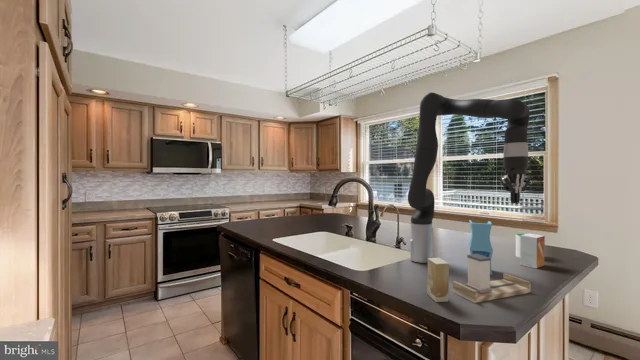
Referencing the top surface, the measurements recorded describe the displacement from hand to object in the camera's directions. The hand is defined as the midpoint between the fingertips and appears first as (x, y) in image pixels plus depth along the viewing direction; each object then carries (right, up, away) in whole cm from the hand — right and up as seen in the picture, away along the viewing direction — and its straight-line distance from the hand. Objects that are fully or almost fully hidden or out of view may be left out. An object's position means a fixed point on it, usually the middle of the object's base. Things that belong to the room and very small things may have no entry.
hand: (515, 203), depth 106 cm
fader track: (-14, -29, -9) cm, 34 cm away
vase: (-6, -29, +13) cm, 32 cm away
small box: (+20, -29, +19) cm, 40 cm away
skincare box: (-34, -30, -13) cm, 47 cm away
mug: (+28, -28, +32) cm, 51 cm away
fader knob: (-19, -27, -11) cm, 35 cm away
